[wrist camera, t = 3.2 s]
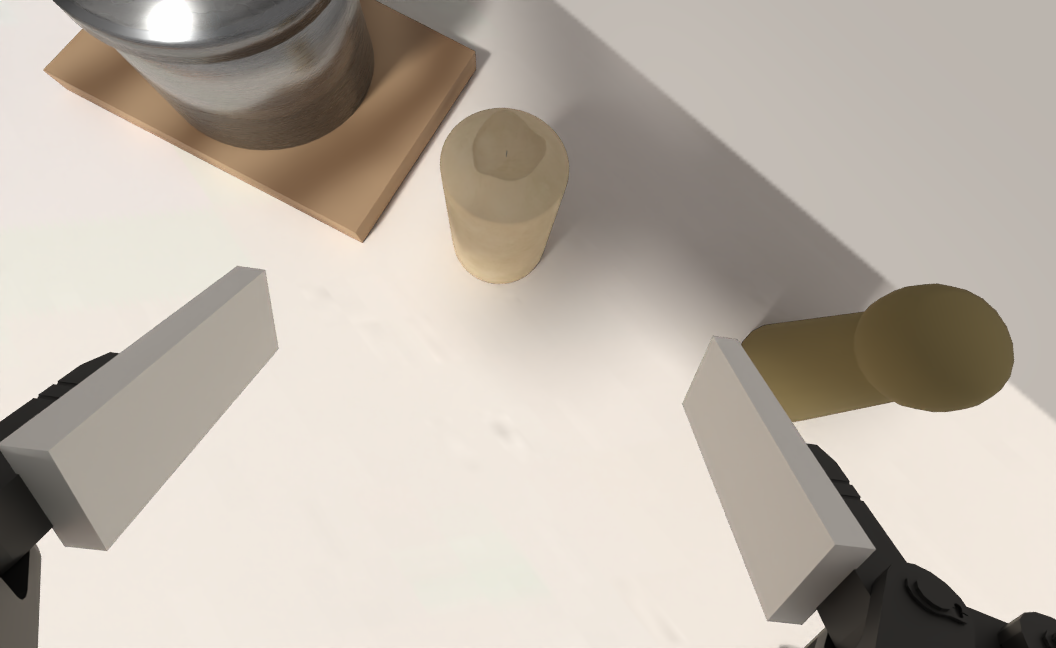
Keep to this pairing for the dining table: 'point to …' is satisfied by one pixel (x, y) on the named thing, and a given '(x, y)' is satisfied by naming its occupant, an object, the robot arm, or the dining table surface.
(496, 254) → the candle
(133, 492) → the robot arm
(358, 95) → the round metal tin
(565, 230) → the dining table surface
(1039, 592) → the dining table surface
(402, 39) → the wooden board
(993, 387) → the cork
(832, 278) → the dining table surface
